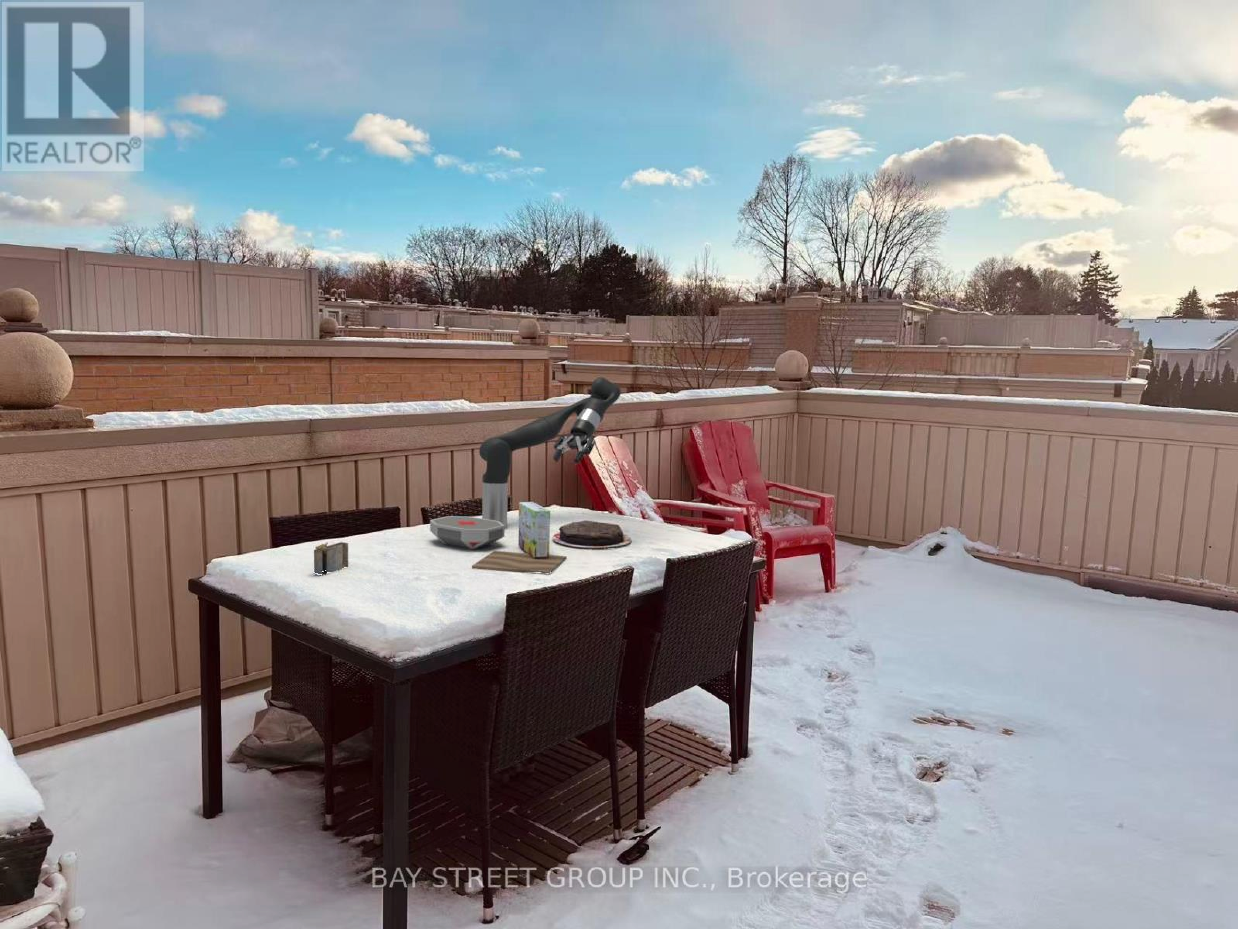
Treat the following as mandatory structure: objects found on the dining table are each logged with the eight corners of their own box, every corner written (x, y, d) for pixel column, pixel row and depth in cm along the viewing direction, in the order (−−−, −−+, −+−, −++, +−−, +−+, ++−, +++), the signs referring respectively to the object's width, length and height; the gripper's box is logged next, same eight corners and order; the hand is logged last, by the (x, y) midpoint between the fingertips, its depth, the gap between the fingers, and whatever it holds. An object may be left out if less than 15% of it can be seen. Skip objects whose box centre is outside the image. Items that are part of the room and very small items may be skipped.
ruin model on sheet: (323, 577, 224) (322, 543, 222) (314, 576, 225) (313, 542, 223) (349, 568, 234) (349, 536, 233) (341, 567, 235) (340, 535, 234)
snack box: (516, 546, 266) (518, 501, 265) (532, 546, 268) (534, 501, 267) (532, 558, 247) (534, 510, 246) (550, 557, 249) (552, 509, 248)
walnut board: (494, 553, 257) (494, 550, 257) (566, 558, 252) (566, 556, 252) (471, 568, 237) (472, 565, 237) (549, 574, 233) (549, 571, 233)
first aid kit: (420, 543, 267) (478, 554, 254) (420, 522, 266) (478, 531, 253) (456, 535, 282) (512, 545, 269) (456, 514, 281) (512, 523, 268)
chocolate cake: (605, 554, 261) (606, 535, 260) (536, 543, 275) (536, 524, 274) (645, 540, 285) (645, 522, 284) (579, 530, 299) (580, 513, 298)
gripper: (607, 433, 273) (586, 470, 265) (574, 430, 280) (553, 466, 273) (598, 418, 267) (577, 455, 260) (564, 416, 275) (543, 452, 268)
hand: (565, 461), depth 266 cm, fingers open, 8 cm apart
